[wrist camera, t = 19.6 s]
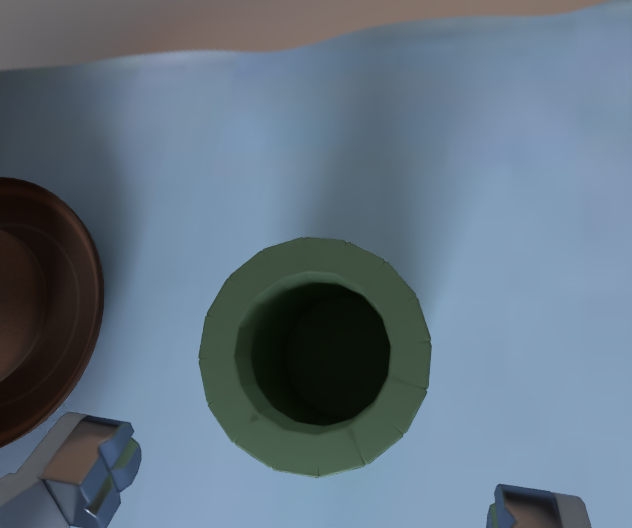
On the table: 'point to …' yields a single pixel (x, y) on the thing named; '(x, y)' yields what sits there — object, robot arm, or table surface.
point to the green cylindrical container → (315, 357)
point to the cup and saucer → (43, 304)
